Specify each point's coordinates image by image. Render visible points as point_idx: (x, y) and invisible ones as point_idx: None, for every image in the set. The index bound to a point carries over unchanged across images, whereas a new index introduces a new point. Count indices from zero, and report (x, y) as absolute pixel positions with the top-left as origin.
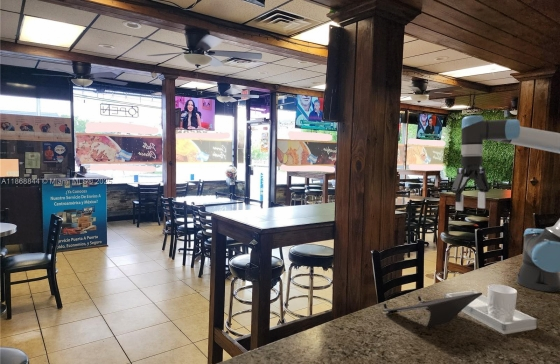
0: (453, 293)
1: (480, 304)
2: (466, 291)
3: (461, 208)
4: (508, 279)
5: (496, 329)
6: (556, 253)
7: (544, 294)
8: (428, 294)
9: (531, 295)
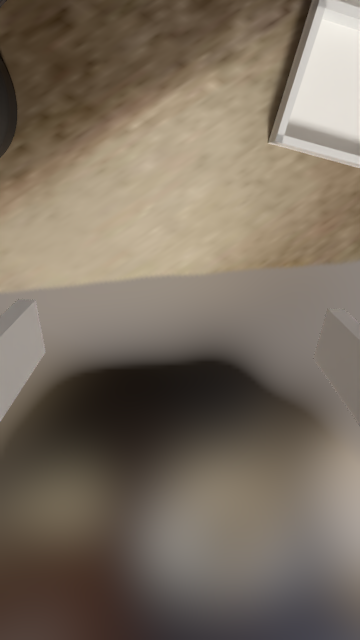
0: (351, 156)
1: (324, 78)
2: (302, 145)
3: (353, 321)
4: (3, 188)
5: None
6: None
7: (16, 25)
8: (339, 229)
9: (71, 47)
